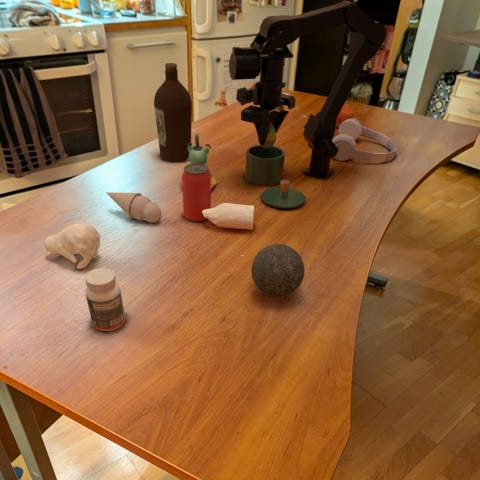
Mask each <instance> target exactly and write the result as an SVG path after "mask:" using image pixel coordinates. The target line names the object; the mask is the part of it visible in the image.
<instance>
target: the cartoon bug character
mask: <svg viewBox="0 0 480 480" xmlns="http://www.w3.org/2000/svg"><path fill="white" fill-rule="evenodd" d="M194 143H195V145H193V142H191V143H188V144H187V147H188V146H189V145H191V146H189V147H188V152H190V153H189V158H188V159H187V160H185V163H188V161H189V164H194V163H198V164H203V165H206V166H207V167H208V171H209V173H210V172H211V170H210V169H209V164H208V154H209V153H210V150H211V149H212V146H211V145H210V144H209V143H205V148H203V145H200V139H199V134H198V133H195V134H194ZM210 174H211V173H210ZM210 176H211V189H213V188H214V187H215V186H216V183H217V179H216V177H214V176H212V175H210ZM180 185H181V186H182V182H180Z"/></svg>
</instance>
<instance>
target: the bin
mask: <svg viewBox="0 0 480 480" xmlns="http://www.w3.org/2000/svg"><path fill="white" fill-rule="evenodd" d="M285 156H286V151H284V149H282V148H280V147H279V146H275V145H273V146H272V147H269V148H266V147H262V146H261V145H260V144H256V145H252V146H250V147H248V148H247V149H246V153H245V169H244V173H245V174H244V176H245V180H246V181H247V182H248V183H249V184H252V185H255V186H259V187H272V186H276V185H280V181H281V180H283V177H284V167H285V158H286V157H285Z"/></svg>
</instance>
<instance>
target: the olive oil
mask: <svg viewBox="0 0 480 480" xmlns="http://www.w3.org/2000/svg"><path fill="white" fill-rule="evenodd" d="M164 68H165V69H164V75H165V79H164V81H163V83H161V85H160V86H159V87H158V89H157V90H156V92H155V94H154V98H153V108H154V116H155V122H156V132H157V137H158V138H157V139H158V148H159V156H160V158H161V159H162V160H164V161H166V162H171V163H180V162H186V161H187V159H188V158H189V153H190V152H188V147H189V146H192V145H189V146H188V147H187V144H188V143H192V119H193V118H192V116H193V101H192V96H191V94H190V92H189V91H188V89H186V87H185V86H184V85H183V83H181V81H180V79H179V72H178V64H177V63H174V62H168V63H165V64H164ZM188 160H189V159H188Z"/></svg>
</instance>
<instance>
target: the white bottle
mask: <svg viewBox="0 0 480 480" xmlns="http://www.w3.org/2000/svg"><path fill="white" fill-rule="evenodd" d="M202 214H203V216H204V217H205V218H207V219H206V220H209V221H210V222H211V223H212V224H213V225H215V226H217V227H218V228H226V229H238V230H250V231H252V230H253V229H254V221H255V205H250V204H249V205H248V204H240V203H231V202H222V203H220V204H218V205H216V206H214V207H211V208H210V209H205V210H203V211H202Z"/></svg>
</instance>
